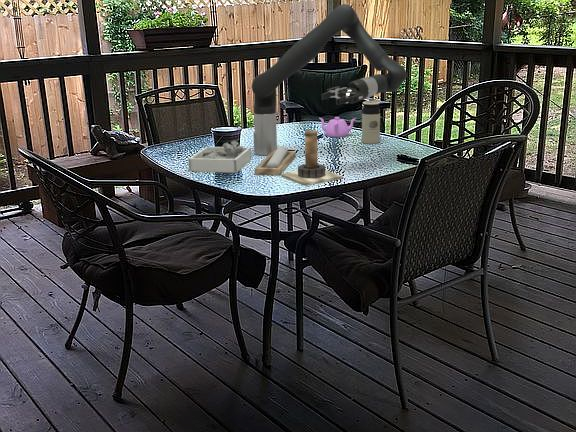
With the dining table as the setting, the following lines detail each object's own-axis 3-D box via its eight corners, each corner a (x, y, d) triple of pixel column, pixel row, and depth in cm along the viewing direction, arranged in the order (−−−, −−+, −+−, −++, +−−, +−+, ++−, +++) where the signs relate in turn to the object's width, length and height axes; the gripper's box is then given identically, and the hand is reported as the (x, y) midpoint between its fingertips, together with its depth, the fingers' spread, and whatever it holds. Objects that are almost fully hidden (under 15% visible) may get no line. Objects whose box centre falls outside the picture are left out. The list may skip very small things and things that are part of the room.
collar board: (305, 185, 230) (305, 174, 229) (281, 176, 243) (281, 165, 242) (342, 178, 238) (342, 167, 237) (317, 170, 251) (317, 159, 250)
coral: (247, 164, 264) (246, 139, 260) (234, 172, 251) (232, 146, 248) (209, 161, 269) (207, 137, 266) (194, 169, 257) (192, 144, 254)
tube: (280, 163, 247) (289, 148, 270) (267, 158, 247) (277, 144, 271) (276, 176, 249) (285, 160, 272) (263, 171, 249) (273, 156, 272)
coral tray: (189, 171, 254) (188, 158, 252) (207, 158, 274) (206, 146, 273) (236, 172, 250) (236, 159, 249) (251, 159, 271) (250, 147, 269)
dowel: (304, 176, 239) (303, 132, 234) (306, 173, 243) (305, 130, 238) (316, 176, 238) (316, 132, 233) (318, 173, 242) (318, 130, 237)
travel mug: (361, 140, 301) (361, 101, 295) (378, 140, 300) (379, 100, 295) (362, 144, 293) (362, 103, 288) (380, 144, 293) (381, 103, 287)
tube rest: (254, 174, 246) (254, 168, 246) (273, 156, 275) (272, 150, 274) (279, 175, 245) (279, 169, 244) (295, 156, 273) (295, 151, 272)
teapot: (318, 135, 316) (318, 117, 313) (341, 132, 323) (341, 113, 320) (333, 139, 306) (333, 120, 303) (356, 135, 313) (356, 116, 310)
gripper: (350, 75, 252) (316, 85, 244) (375, 82, 241) (341, 94, 233) (350, 94, 255) (317, 105, 247) (375, 102, 245) (342, 114, 237)
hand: (329, 99), depth 240 cm, fingers open, 8 cm apart
